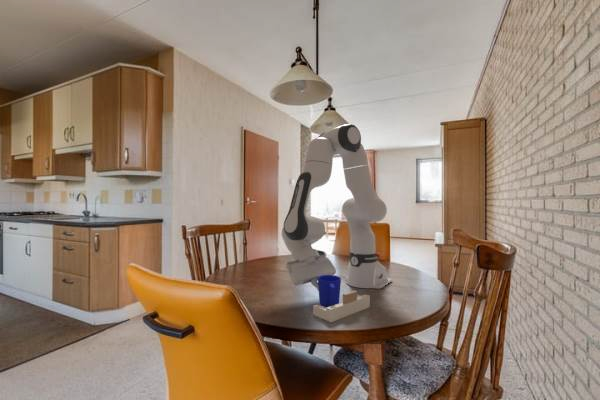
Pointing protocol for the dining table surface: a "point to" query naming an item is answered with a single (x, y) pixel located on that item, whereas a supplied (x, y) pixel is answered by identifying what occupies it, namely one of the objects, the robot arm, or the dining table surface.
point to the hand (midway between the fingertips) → (322, 290)
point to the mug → (329, 290)
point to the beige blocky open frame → (343, 307)
